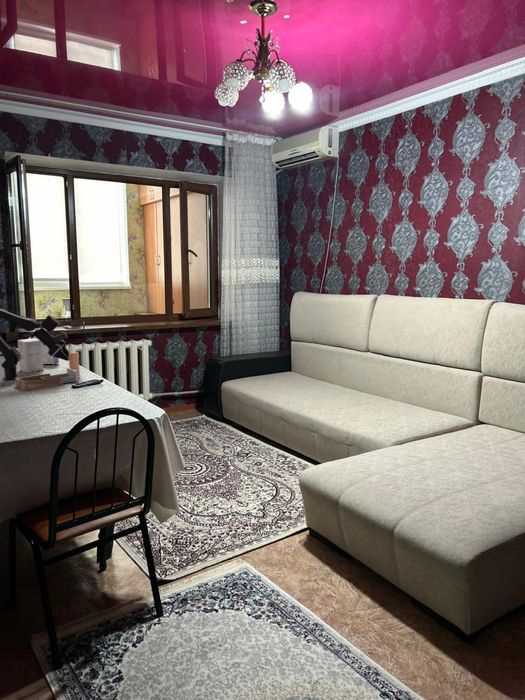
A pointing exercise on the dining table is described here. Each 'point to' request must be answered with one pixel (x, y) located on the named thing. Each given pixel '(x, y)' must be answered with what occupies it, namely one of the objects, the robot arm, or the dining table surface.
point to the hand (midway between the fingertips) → (70, 358)
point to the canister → (74, 361)
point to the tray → (65, 376)
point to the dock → (36, 382)
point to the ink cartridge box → (48, 356)
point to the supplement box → (30, 355)
